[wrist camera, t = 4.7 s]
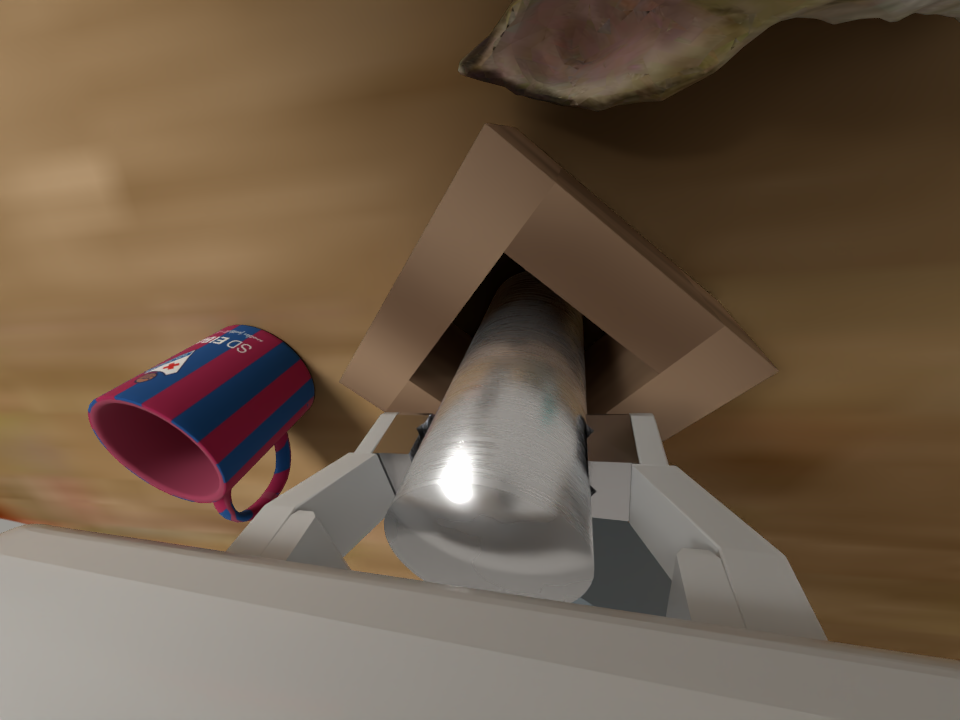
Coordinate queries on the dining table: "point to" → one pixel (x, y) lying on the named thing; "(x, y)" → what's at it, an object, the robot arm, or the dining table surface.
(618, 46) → the ceramic sculpture
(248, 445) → the mug
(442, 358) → the mount
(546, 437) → the pin
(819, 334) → the dining table surface
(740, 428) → the dining table surface
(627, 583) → the socket
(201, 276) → the dining table surface
